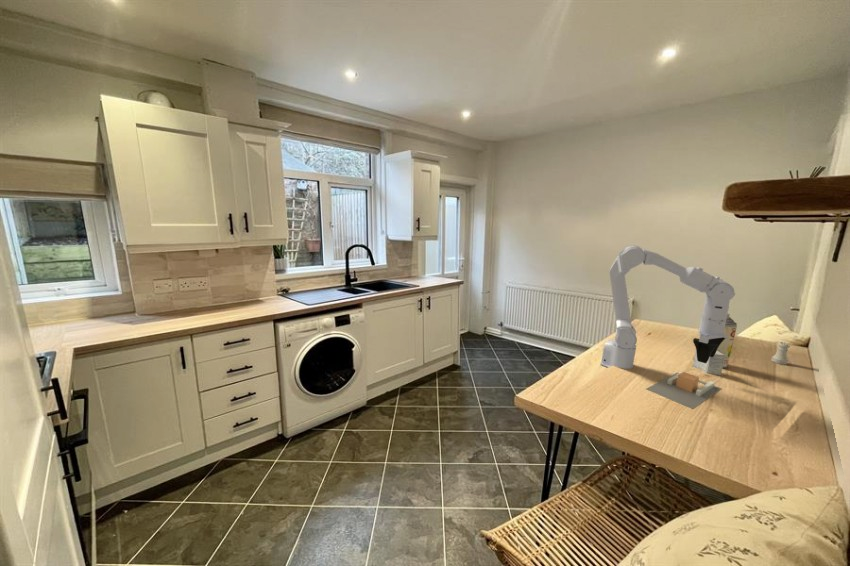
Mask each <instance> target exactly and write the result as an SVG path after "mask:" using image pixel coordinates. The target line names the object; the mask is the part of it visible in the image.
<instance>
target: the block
mask: <svg viewBox="0 0 850 566" xmlns="http://www.w3.org/2000/svg"><path fill="white" fill-rule="evenodd" d="M681 372H682V371H681ZM681 372H679V373H680V374H679V375H678V378H677V383H676V387H679V388H682V389H684V390H687V391H689V392H693V391H694V390H696V389H697V387H698V384H699V382H698V381H699V380H700V377H699V376H697V375H694V374H691V373H689V372H686V371H683V372H682V373H681Z"/></svg>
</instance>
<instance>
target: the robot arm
mask: <svg viewBox="0 0 850 566" xmlns="http://www.w3.org/2000/svg"><path fill="white" fill-rule="evenodd" d="M642 263H643V265H645V266H647V265H648V266H650V265H653V266H657V267H658V268H661V269H663V270H665V271H668V272H669V273H672V274H674V275H675V276H678V278H679V281H680V282H681V283H682V284H684V285H686V286H688V287H691V288H692V289H694V290H696V291H699V292H700V293H705V294H706V295H705V301H704V303H703V309H702V315H701V318H700V323H699V328H698V331H697V333H698V335H699V338H697V337H694V338H693V340H692V341H693V342H692V343H693V344H694V347H695V352H696V351H697V360H698V361H699V362H702V363H707V361H708V359H709V357H714V355H715V353H716V351H717V349H718V347H719V345H720V344H721V343H722V341H723V340H724V339H726V338H728V335H726V334H724V328H725V323H726V319H727V314H729V310H730V309H729V308H730V301H731V300H733V298H734V297H735V296H736V292H735V289H734V288H735V287H733V286H732V285H731V284H730V283H729V282H727V281H725V280H723V279H721V277H720V276H717V275H715V276H714V275H711V274H710V273H708V272H706V271H704V268H701V267H700V266H697V267H695V266H689V267H685V266H683V265H680V264H679V263H677V262H676V261H673V260H671V259H669V258H667V257H665V256H663V255H661V254H660V253H658V252H655V251H652V250H650V249H646V248H643V249H642V248H641V247H640V246H639V245H633V244H632V245H628V246H626V247H624V249H622V250H621V251H620V252H619V253H618V255H617V257H616V258H615V260H614V261H613V263H612V265H611V266H610V268H609V273H608V274H609V280H610V286H611V293H612V300H613V307H614V308H613V309H614V314H615V323H616V324H615V325H616V328H615V338H614V339H613V340H607V341H606V342H605V344H604V345H603V348H602V355H601V362H599V365H600V366H603V367H607V368H610V367H612V366H613V367H616V368H619V369H622V370H632V369H633V368H634V362H635V355H636V351H637V341H638V339H637V335H636V334H637V331H636V329H635V327H634V326H633V324H632V318H631V311H630V304H629V297H628V290H627V289H628V288H627V284H626V275H627V274H628V273H629V272H630V271H632V269H633V268H636V267H637V266H639V265H642Z"/></svg>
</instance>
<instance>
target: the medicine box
mask: <svg viewBox="0 0 850 566" xmlns="http://www.w3.org/2000/svg"><path fill="white" fill-rule="evenodd" d="M724 358H725V355H723V354H722V353H720V352H718V351H716V353H715V355H714V357H709V359H708V361H707V363H702V362H699V361H698V360H697V351H696V350H695V352H694V357H693V363H692V368H695V369H698V370H700V371H703V372H704V373H705V374H708V375H709V374H710V375H715V376H718V377H721V376H722V371H723V368H722V367H723V363H724Z"/></svg>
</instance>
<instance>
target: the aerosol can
mask: <svg viewBox="0 0 850 566" xmlns="http://www.w3.org/2000/svg"><path fill="white" fill-rule="evenodd" d="M737 325H738V323H737V322H736V321H735V320H734V319H732V317H731V316H730V313H728V314H727V319H726V323H725V328H724V334H726V335H728V338H726V339H724V340H723V341H722V343H721V344H720V345H719V347H718V349H717V351H718V352H720V353H722V354H723V355H725V358H724V363H723V367H722V369H727V368H728V365H729V361H730V358H731V353H732V348H733V344H734V341H735V336H736V331H737V328H738V326H737ZM726 367H727V368H726Z"/></svg>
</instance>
